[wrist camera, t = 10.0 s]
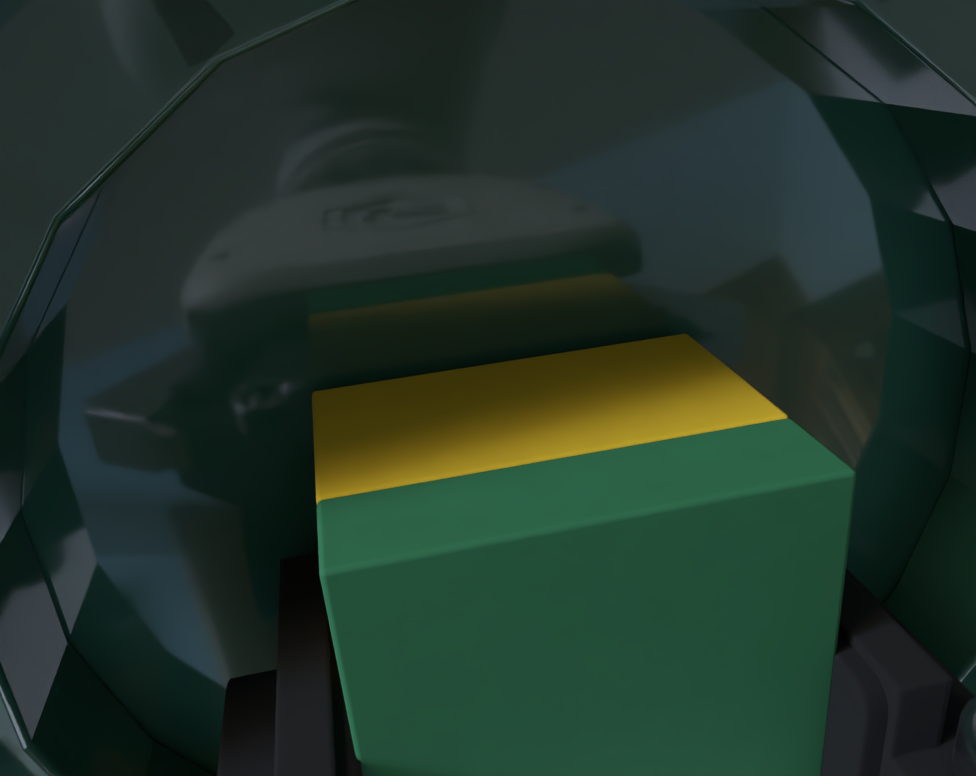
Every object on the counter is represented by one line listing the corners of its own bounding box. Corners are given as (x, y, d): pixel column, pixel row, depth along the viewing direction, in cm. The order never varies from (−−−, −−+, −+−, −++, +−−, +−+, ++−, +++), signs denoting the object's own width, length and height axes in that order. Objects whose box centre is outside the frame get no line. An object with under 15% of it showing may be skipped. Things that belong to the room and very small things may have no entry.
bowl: (-504, -243, 7) (-1396, -536, 3) (1201, -299, 9) (1768, -499, 6) (65, 992, 13) (-19, 1345, 10) (969, 766, 16) (1163, 983, 12)
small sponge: (311, 389, 10) (318, 572, 6) (686, 331, 10) (860, 469, 7) (390, 822, 12) (422, 1094, 9) (679, 753, 13) (799, 986, 10)
